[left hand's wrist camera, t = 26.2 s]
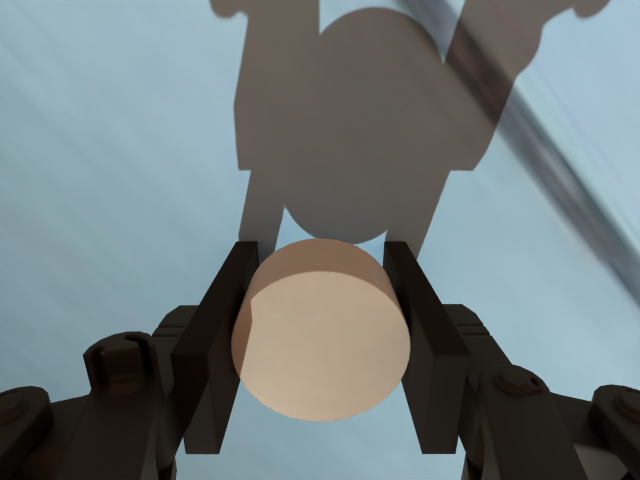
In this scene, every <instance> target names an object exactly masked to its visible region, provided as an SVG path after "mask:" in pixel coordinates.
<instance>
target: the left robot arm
mask: <svg viewBox="0 0 640 480" xmlns="http://www.w3.org/2000/svg"><path fill="white" fill-rule="evenodd" d="M258 268H259V263H258V246H257V242H236V243H235V245H234V247H233V248H232V250H231V252H230V253H229V255H228V257H227V258H226V260H225V262H224V264H223V265H222V267H221V269H220V270H219V272H218V274H217V275H216V277H215V279H214V281H213V282H212V284H211V286H210V287H209V289H208V291H207V292H206V294H205V296H204V297H203V299H202V301H201V303H200V304H199V305H180V306H178V307H177V308H175V309H174V310H172V311H171V312H170V313H168V314H167V315H166V316H165V317H164V319H163V320H162V321H161V323H160V324H159V327H158V328H156V330H155V331H154V333H153V334H152V336H150V335H149V334H147V333H143V332H139V331H138V332H123V333H119V334H114V335H111V336H109V337H106V338H104V339H101V340H100V341H98V342H96V343H95V344H93V345H92V346H90V347H89V348H88V349H87V351H86V352H85V353H84V354H83V358H84V362H85V366H86V370H87V373H88V377H89V381H90V385H91V391H90V393H89V395H85V396H82V397H77V398H72V399H68V400H63V401H58V402H54V403H51V402H50V399H49V395H48V393H47V392H46V391H45V390H44V389H43V388H40V387H34V386H27V387H19V388H15V389H11V390H7V391H4V392H2V393H0V480H176V473H177V468H176V461H175V455H176V452H177V450H178V447H179V445H180V442H181V440H182V437H183V439H184V445H185V451H186V454H219V452H220V449H221V445H222V442H223V438H224V435H225V431H226V428H227V425H228V421H229V418H230V414H231V411H232V407H233V404H234V400H235V397H236V393H237V390H238V386H239V383H240V378H239V376H238V374H237V372H236V369H235V367H234V364H233V359H232V353H231V337H232V331H233V328H234V324H235V321H236V319H237V316H238V313H239V310H240V308H241V305H242V302H243V300H244V297H245V294H246V292H247V289H248V286H249V284H250V281H251V279H252V277H253V275H254V274H255V272H256V270H257V269H258ZM383 269H384V270H385V272H386V273H387V275H388V277H389V279H390V281H391V284H392V286H393V289H394V291H395V294H396V296H397V299H398V302H399V304H400V307H401V309H402V312H403V315H404V317H405V320H406V323H407V325H408V328H409V334H410V342H411V346H410V357H409V361H408V365H407V368H406V370H405V373H404V375H403V377H402V379H401V381H402V385H403V388H404V392H405V395H406V399H407V402H408V406H409V409H410V413H411V416H412V420H413V423H414V427H415V430H416V434H417V437H418V440H419V444H420V447H421V451H422V454H455V453H456V447H457V441H458V435H459V437H460V439H461V442H462V444H463V447H464V449H465V452H466V455H465V461H464V467H463V472H462V478H461V480H640V391H639V390H637V389H632V388H630V387H626V386H619V385H605V386H600V387H599V388H598V389H596V390H595V391H594V394H593V398H592V401H591V402H590V401H586V400H581V399H577V398H572V397H567V396H563V395H559V394H555V393H552V392H550V390H549V388H548V387H547V386H546V384H545V383H544V381H543V380H542V379H541V378H539V377H538V376H537V375H535V374H534V373H533V372H531V371H529V370H527V369H524V368H522V367H520V366H516V365H512V364H511V362H510V361H509V359H508V358H507V357H506V355H505V354H504V352H503V351H502V350H501V348H500V347H499V345H498V344H497V343H496V341H495V340H494V338H493V337H492V336H490V333H489V331H488V330H487V329H486V327H485V326H483V323H482V322H481V320H480V319H479V318H478V316H477V315H476V313H474V312H473V311H471V310H470V309H468V308H467V307H465V306H464V305H462V304H442V303H441V302H440V300H439V298H438V296H437V295H436V293H435V291H434V290H433V288H432V286H431V285H430V283H429V281H428V279H427V278H426V276H425V274H424V273H423V271H422V269H421V268H420V266H419V264H418V262H417V261H416V259H415V257H414V256H413V254H412V252H411V251H410V249H409V247H408V245H407V244H406V242H384V257H383Z"/></svg>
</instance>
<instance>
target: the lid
mask: <svg viewBox="0 0 640 480" xmlns="http://www.w3.org/2000/svg"><path fill="white" fill-rule="evenodd" d="M410 346H411V342H410V334H409V328H408V325H407V323H406V320H405V317H404V315H403V312H402V309H401V307H400V304H399V302H398V299H397V296H396V294H395V291H394V289H393V286H392V284H391V281H390V279H389V277H388V275H387V273H386V272H385V270H384V269H383V267H382V266H381V265H380V264H379V263H378V262H377V261H376V260H375V259H374V258H373V257H372V256H371V255H370V254H368V253H367V252H366V251H364V250H362V249H360V248H359V247H357V246H354V245H352V244H350V243H347V242H343V241H340V240H334V239H325V238H316V239H306V240H302V241H298V242H295V243H292V244H289V245H287V246H285V247H283V248H281V249H279V250H277V251H276V252H274V253H273V254H272V255H270V256H269V257H268V258H267V259H266V260H265V261H264V262H263V263H262V264H261V265H260V266H259V268H258V269H257V270H256V272H255V274H254V275H253V277H252V279H251V281H250V284H249V286H248V289H247V292H246V294H245V297H244V300H243V302H242V305H241V308H240V310H239V313H238V316H237V319H236V321H235V324H234V328H233V331H232V337H231V353H232V359H233V364H234V367H235V369H236V372H237V374H238V376H239V378H240V380H241V381H242V383H243V384H244V386H245V387H246V388H247V390H248V391H249V392H250V393H251V394H252V395H253V396H254V397H255V398H256V399H258V400H259V401H260V402H261V403H263V404H264V405H266V406H267V407H269V408H271V409H272V410H274V411H276V412H279V413H281V414H283V415H286V416H289V417H292V418H296V419H301V420H308V421H334V420H340V419H345V418H349V417H352V416H355V415H358V414H360V413H363V412H365V411H367V410H369V409H371V408H372V407H374V406H376V405H377V404H378V403H380V402H381V401H383V400H384V399H385V398H386V397H387V396H388V395H389V394H390V393H391V392H392V391H393V390H394V389H395V387H396V386H397V385H398V383H399V382H400V380H401V379H402V377H403V375H404V373H405V370H406V368H407V365H408V361H409V357H410Z"/></svg>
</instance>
